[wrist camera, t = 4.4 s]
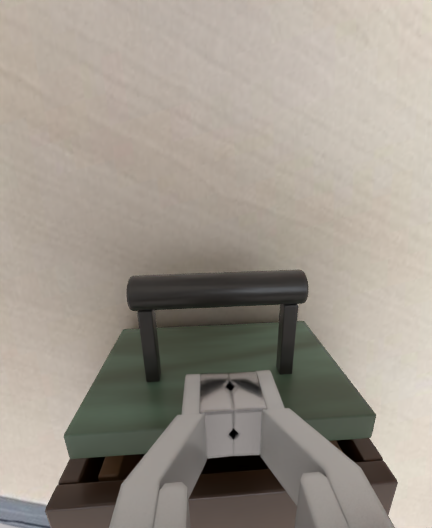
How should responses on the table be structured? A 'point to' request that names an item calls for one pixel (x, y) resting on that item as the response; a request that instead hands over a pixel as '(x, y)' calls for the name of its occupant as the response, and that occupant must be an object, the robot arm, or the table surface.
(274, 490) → the cabinet
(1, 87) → the table surface
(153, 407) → the drawer
